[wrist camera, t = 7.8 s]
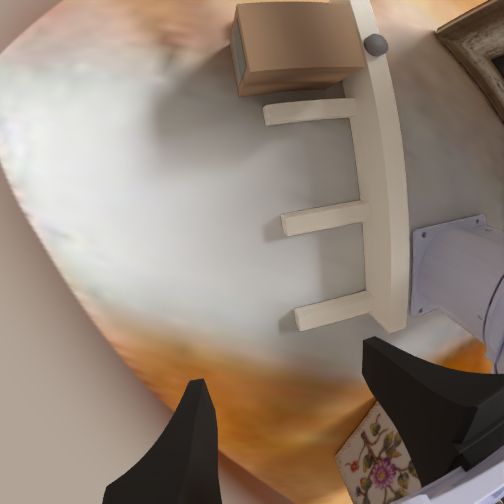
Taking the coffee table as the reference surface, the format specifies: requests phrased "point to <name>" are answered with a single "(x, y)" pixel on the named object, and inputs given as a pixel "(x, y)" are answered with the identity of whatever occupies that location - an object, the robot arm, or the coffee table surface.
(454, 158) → the coffee table surface
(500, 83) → the picture frame
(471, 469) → the robot arm
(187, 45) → the coffee table surface
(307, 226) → the cream pronged rack
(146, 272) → the coffee table surface
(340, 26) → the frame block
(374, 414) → the decorative jar
